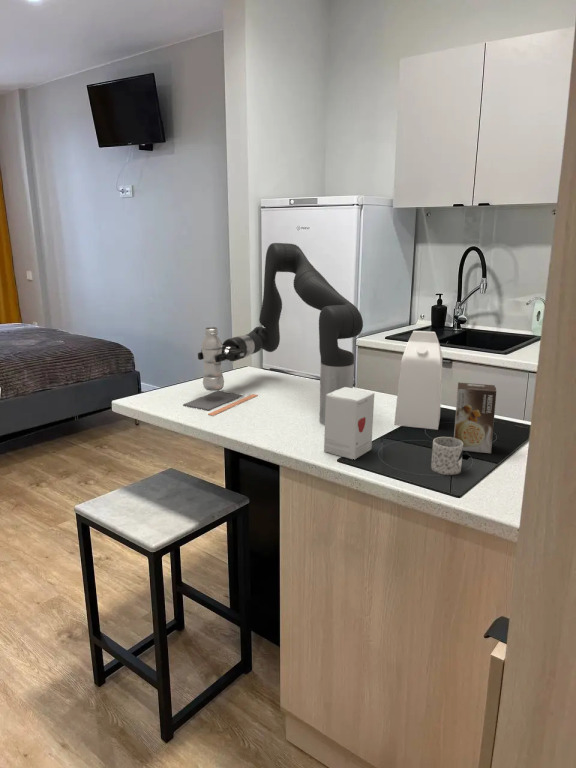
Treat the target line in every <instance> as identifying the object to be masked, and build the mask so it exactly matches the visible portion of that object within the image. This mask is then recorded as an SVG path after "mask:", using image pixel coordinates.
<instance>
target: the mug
mask: <svg viewBox="0 0 576 768" xmlns="http://www.w3.org/2000/svg"><path fill="white" fill-rule="evenodd" d="M462 462H463V442H462V441H461V440H459V439H456V438H454V437H452V436H439V437H435V438H434V439H433V441H432V450H431V461H430V463H431V464H430V469H431V470H432V471H433V472H435V473H438V474H439V475H440V474H441V475H445V476H454V475H455V476H456V475H458V474H461V472H462Z"/></svg>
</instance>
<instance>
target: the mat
mask: <svg viewBox="0 0 576 768" xmlns="http://www.w3.org/2000/svg"><path fill="white" fill-rule="evenodd" d="M241 397H244V396H243V394H242V393H241V394H239V393H234V392H229V391H223V390H217V391H212V392H210V393H208V394H206V395H203V396H201V397H197V398H195V399H193V400H190V401H187V402H185V403H183V404H182V407H186V406H187V408H191V407H192V409H196V408H197V409H196V410H201V409H202V410H203V411H206V412H207V411H208V412H211V411H212V410H215V409H217V408H219V407H221V406H223V405H224V406H225V405H227V404H229V403H230V402H231V403H232V402H233V401H235V400H239V398H241ZM202 410H201V411H202Z"/></svg>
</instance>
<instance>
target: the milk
mask: <svg viewBox="0 0 576 768" xmlns="http://www.w3.org/2000/svg"><path fill="white" fill-rule="evenodd" d="M442 377H443V352H442V349H441V345H440V341H439V339H438V336H437V334H436V332H435V331H424V330H423V331H422V330H413V331H412V333H411V335H410V337H409V339H408V341H407V344H406V347H405V349H404V352H403V354H402V357H401V362H400V369H399V378H398V388H397V396H396V405H395V412H394V414H395V415H394V422H393V423H394V426H401V427H409V428H410V427H411V428H418V429H419V428H420V429H428V430H437V431H438V430H439V425H440V419H441V406H442V405H441V403H442V382H443V381H442V380H443V379H442Z"/></svg>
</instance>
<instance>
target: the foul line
mask: <svg viewBox="0 0 576 768" xmlns="http://www.w3.org/2000/svg"><path fill="white" fill-rule="evenodd" d="M258 396H259V395H258V394H256V393H255V394H253V393H252V394H249V395H248V396H246V397H243V398H241V399H237V400H236V401H234V402H231V403H230V404H229V403H228V404H226V405H224V406H223V407H221V408H218V409H216V410H213V411H210V412H209V413H208V414H207V415H208V416H212V417H215V416H216V415H218V414H221V413H223V412H225V411H228V410H229V409H232V408H234V407H237V406H239V405H241V404H243V403H245V402H248V401H249V400H252V399H254V398H256V397H258ZM236 405H237V406H236ZM227 409H228V410H227Z"/></svg>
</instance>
